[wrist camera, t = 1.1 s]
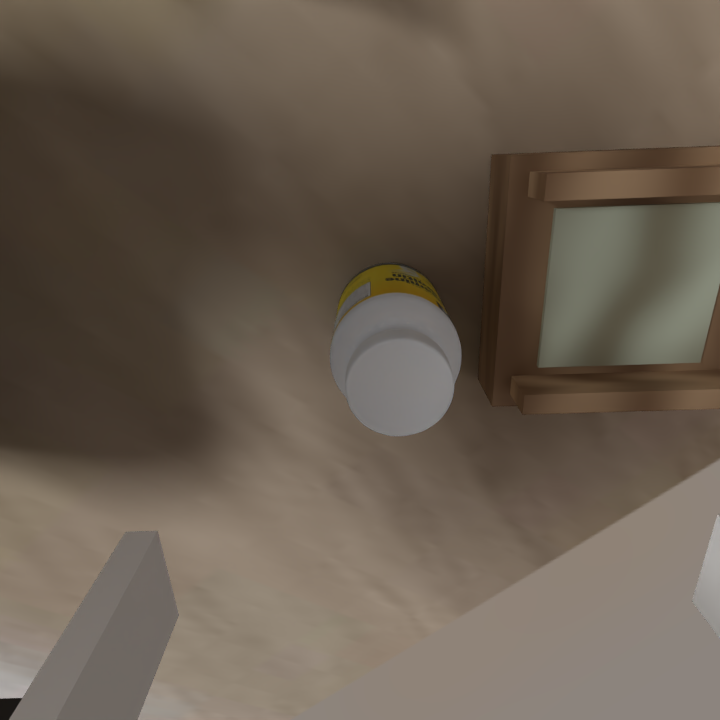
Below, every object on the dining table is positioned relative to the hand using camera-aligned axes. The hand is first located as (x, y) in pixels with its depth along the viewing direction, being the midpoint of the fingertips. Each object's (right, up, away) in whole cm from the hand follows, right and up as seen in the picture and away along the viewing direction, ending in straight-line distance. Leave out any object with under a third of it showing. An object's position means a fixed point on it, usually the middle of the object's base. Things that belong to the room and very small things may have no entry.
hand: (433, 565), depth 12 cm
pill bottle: (0, +8, +20) cm, 22 cm away
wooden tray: (+13, +10, +19) cm, 25 cm away
